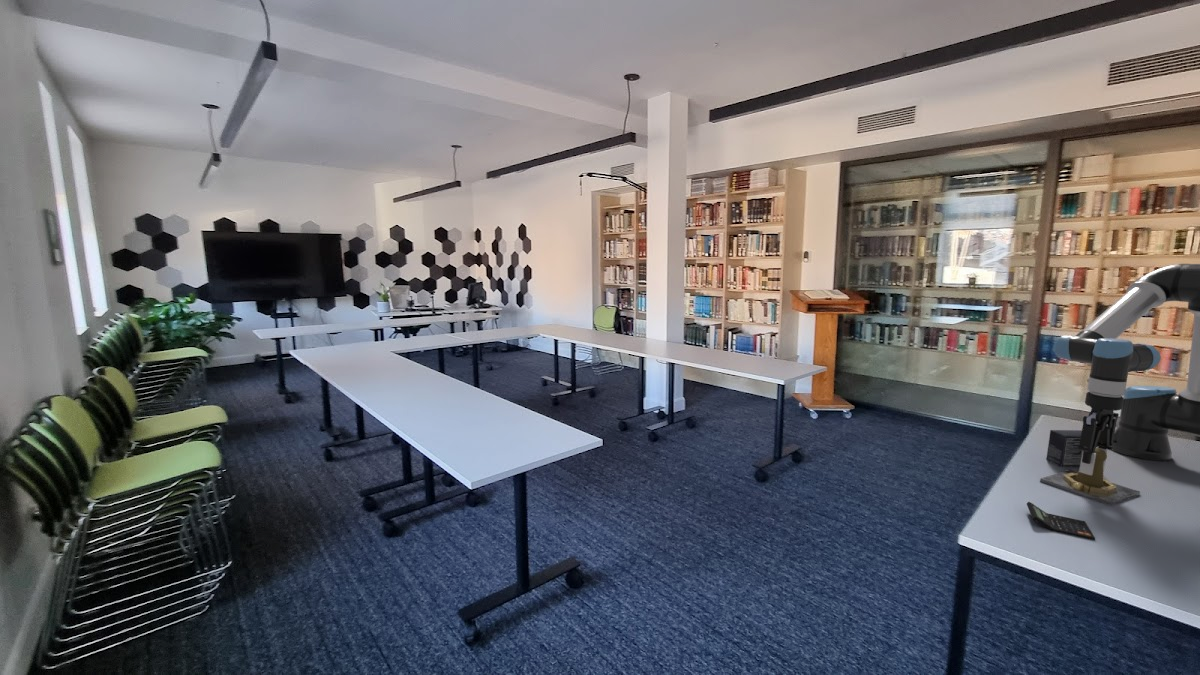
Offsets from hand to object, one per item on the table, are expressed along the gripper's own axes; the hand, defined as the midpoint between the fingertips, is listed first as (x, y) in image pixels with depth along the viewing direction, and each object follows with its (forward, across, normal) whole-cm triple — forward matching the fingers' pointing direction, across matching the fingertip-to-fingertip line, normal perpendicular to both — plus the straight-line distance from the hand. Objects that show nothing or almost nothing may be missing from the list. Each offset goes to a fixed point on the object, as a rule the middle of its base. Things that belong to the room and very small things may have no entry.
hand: (1091, 471), depth 148 cm
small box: (+5, -17, -12) cm, 21 cm away
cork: (+4, 0, 0) cm, 4 cm away
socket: (+5, 0, 0) cm, 5 cm away
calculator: (+6, +33, +8) cm, 34 cm away
